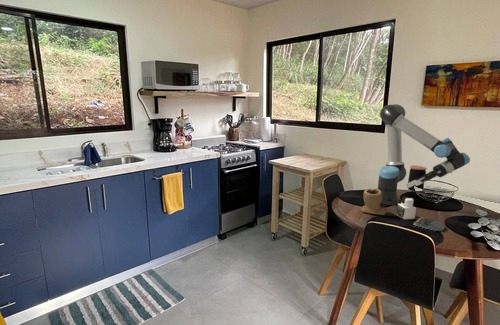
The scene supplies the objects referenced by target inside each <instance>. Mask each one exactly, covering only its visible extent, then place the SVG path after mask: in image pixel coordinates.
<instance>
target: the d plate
mask: <svg viewBox="0 0 500 325" xmlns="http://www.w3.org/2000/svg"><path fill="white" fill-rule="evenodd" d="M413 225H415V226H414V227H416V226H418V227H417V228H419V227H422V228H421V229H423V228H425V229H424V230H426V229H429V230H428V231H430V230H433V231H432V232H436V231H439V232H443V231H444V230H445V227H446V226H445V225H444V223H442V222H439V221H437V220H434V219H430V218H427V217H423V216H420V217H419V218H418V219H417V220H415V221H414V222H413Z"/></svg>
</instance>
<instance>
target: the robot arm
mask: <svg viewBox="0 0 500 325" xmlns="http://www.w3.org/2000/svg"><path fill="white" fill-rule="evenodd" d="M405 116H406V109H405V108H404V106H402V105H400V104H387V105H385V106H383V107H382V108H381V109H380V112H379V117H380V119H381V120H382V122H384V126H385V127H386V128H387V129H386V130H387V161H386V162H385V165H383V166H380V168H379V173H378V182H377V189H378V190H380V191H381V192H382V201H381V203H382V204H383V205H389V206H391V205H398V204H399V196H398V194H397V193H398V191H397V189H398V183H400V182H401V181H403V180H404V179H405V178H406V176H407V169H406V168H405V163H404V161H403V160H402V159H403V157H402V154H403V153H402V150H403V149H402V148H403V147H402V133H404V134H406V135H407V136H409V137H410V138H411V139H413V140H415V141H416V142H418V143H419V144H420V145H422V146H424V147H425V148H427V149H428V150H430V151H431V152H432V153H434V155H435V156H436V157H437V158H446V160H443V161H442V162H440V163H438V164H436V165H434V166H433V167H432V170H431V171H428V172H426V174H425V175H424V176H422V177H420V178H417V179H415V180H414V181H412V182H410V183H408V182H407V183H406V184H405V186H406V187H408V188H410V187H412V186H414V185H416V186H418V185H420V184H422V183H424V184H425V183H426V182H427V181H430V180H432V179H434V178H436V177H439V178H443V177H445V176H446V175H448V174H453V172H455V171H457V170H459V169H461V168H463V167H464V166H467V165H468V164H469V163H470V161H471V158H470V156H469V155H468V154H467V153H465V152H460V151H459V149H458V148H457V147H456V146H455V144H454V142H453V141H452V139H451V138H449V137H445V138H444V139H442V140H440V139H439V138H437V137H435V135H432V134H431V133H430V132H428V131H427V130H425V129H423V128H421V127H420V126H419V125H417V124H416V123H414V122H412V121H410V120H409V119H408V118H406V117H405ZM408 188H407V189H408Z"/></svg>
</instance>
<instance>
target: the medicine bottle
mask: <svg viewBox="0 0 500 325" xmlns="http://www.w3.org/2000/svg"><path fill="white" fill-rule="evenodd" d="M414 201H415V200H414V198H412V197H410V196H402V198H401V203H397V207H396V213H395V214H396V216H398V217H399V218H401V219H402V218H403V219H402V220H414V219H415V218H416V211H417V207H415V206H414Z"/></svg>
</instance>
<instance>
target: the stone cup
mask: <svg viewBox="0 0 500 325" xmlns="http://www.w3.org/2000/svg"><path fill="white" fill-rule="evenodd" d="M362 195H363V201H364V202H363V203H364V205H362V206H361V207H360V211H361V212H363V213H367V214H373V215H380V216H385V215H386V214H387V213H388V210H389V208H388V207H387V208H386V207H381V201H382V192H381V191H380V190H378V188H368V189H365V190H364V191H363V194H362Z"/></svg>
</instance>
